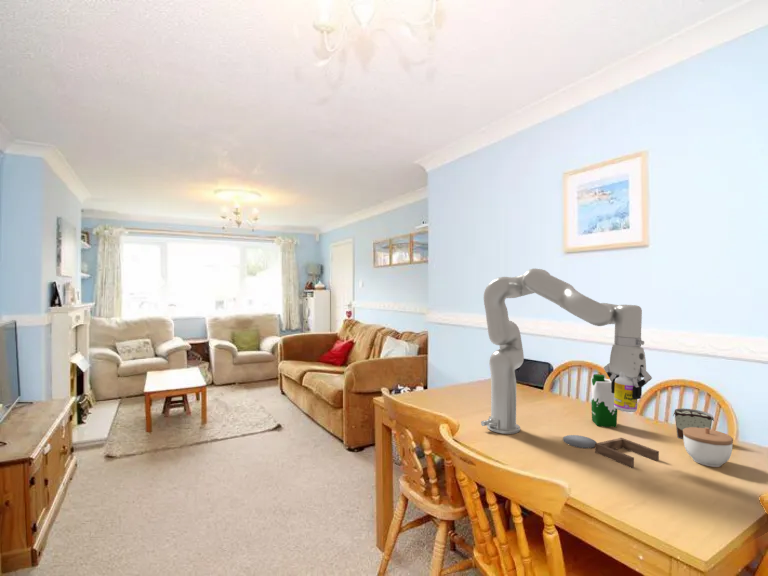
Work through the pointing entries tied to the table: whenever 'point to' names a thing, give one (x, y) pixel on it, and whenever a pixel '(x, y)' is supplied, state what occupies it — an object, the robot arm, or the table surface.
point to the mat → (579, 441)
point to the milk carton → (603, 402)
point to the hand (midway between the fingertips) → (625, 395)
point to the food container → (691, 420)
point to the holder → (610, 449)
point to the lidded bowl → (707, 446)
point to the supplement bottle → (624, 394)
